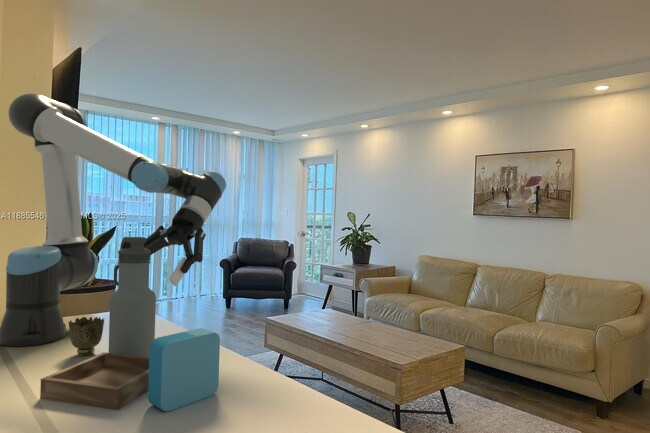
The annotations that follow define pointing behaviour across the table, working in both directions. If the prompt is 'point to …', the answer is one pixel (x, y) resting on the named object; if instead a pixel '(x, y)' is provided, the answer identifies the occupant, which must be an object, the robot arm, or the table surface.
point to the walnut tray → (99, 381)
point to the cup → (86, 334)
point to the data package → (183, 368)
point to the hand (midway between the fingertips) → (149, 280)
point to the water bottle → (132, 301)
